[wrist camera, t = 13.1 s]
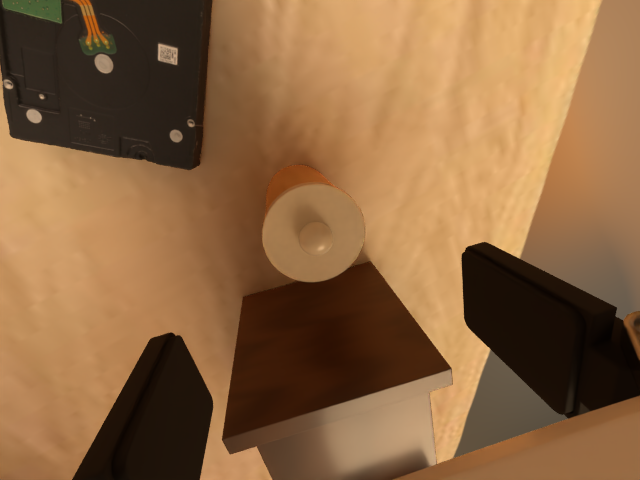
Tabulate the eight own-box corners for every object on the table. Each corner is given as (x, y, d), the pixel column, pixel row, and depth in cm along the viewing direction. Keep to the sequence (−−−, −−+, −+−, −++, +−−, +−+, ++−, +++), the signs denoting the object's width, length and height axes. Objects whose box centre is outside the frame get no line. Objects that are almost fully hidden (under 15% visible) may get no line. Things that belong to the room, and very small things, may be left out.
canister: (275, 237, 25) (279, 306, 15) (255, 172, 23) (245, 206, 13) (337, 220, 25) (379, 277, 16) (324, 155, 23) (363, 175, 14)
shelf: (291, 423, 33) (304, 593, 21) (242, 296, 26) (221, 440, 14) (393, 392, 34) (461, 538, 22) (371, 261, 27) (452, 368, 15)
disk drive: (204, 165, 22) (221, -93, 17) (196, 172, 19) (212, -131, 14) (41, 137, 20) (4, -171, 15) (7, 140, 17) (-51, -232, 12)
